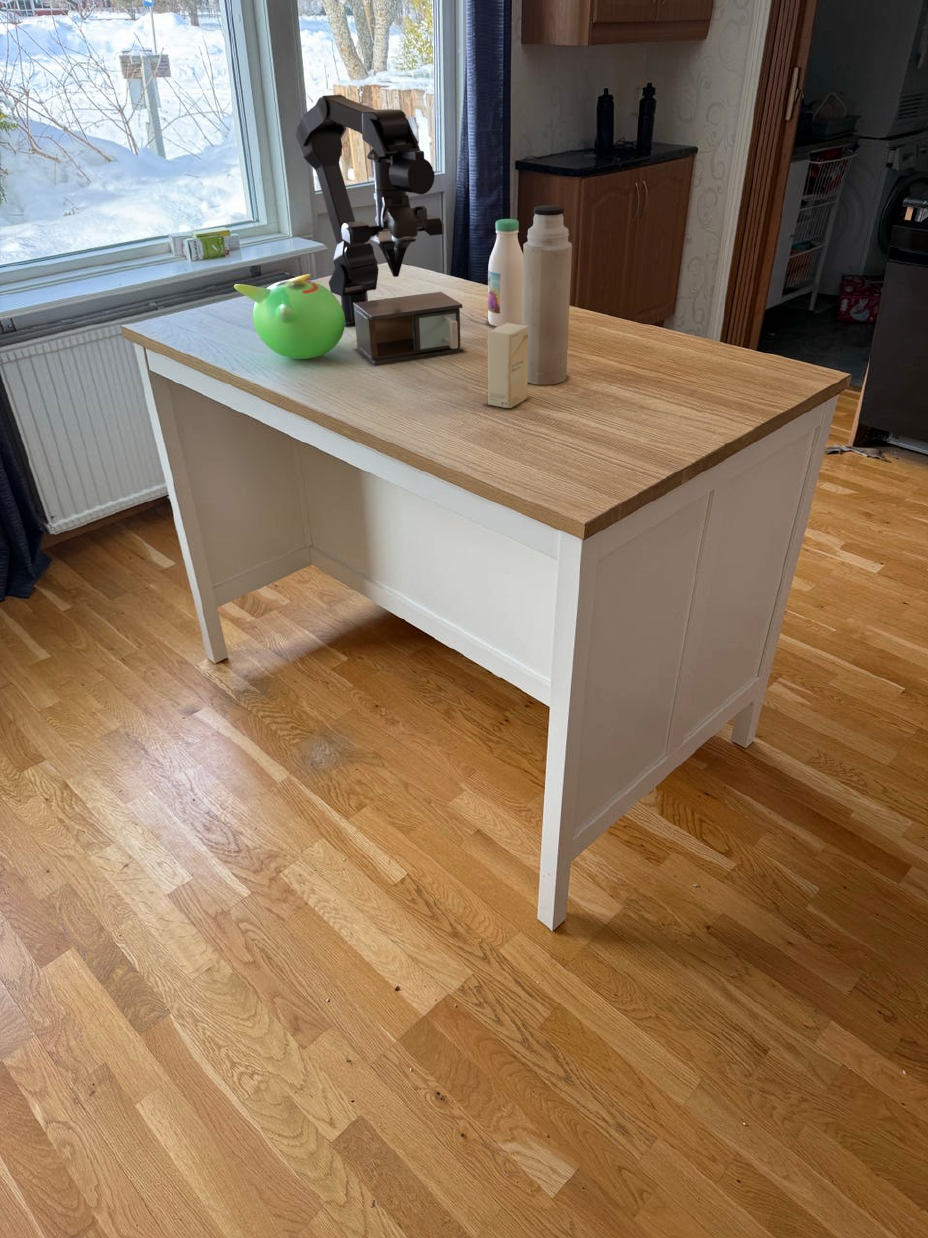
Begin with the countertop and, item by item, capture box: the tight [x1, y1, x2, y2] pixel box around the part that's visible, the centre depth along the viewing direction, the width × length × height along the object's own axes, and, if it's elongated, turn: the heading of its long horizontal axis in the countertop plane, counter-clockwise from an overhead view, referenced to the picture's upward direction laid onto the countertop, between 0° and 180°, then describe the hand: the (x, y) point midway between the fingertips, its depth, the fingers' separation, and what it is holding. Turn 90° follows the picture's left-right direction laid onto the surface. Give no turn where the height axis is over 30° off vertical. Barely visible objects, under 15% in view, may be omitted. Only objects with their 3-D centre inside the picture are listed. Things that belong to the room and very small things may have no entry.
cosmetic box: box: [487, 323, 528, 409], centre depth 146 cm, size 6×4×12 cm
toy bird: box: [233, 273, 346, 360], centre depth 168 cm, size 18×17×15 cm
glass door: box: [414, 308, 461, 353], centre depth 167 cm, size 6×9×7 cm, turn 113°
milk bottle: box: [487, 218, 523, 327], centre depth 183 cm, size 8×8×20 cm
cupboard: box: [353, 291, 464, 366], centre depth 171 cm, size 11×18×9 cm, turn 113°
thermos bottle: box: [521, 204, 573, 386], centre depth 152 cm, size 8×8×28 cm
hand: (395, 276), depth 174 cm, fingers closed
